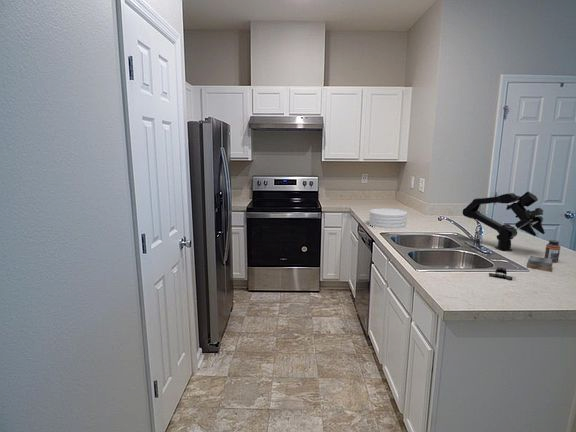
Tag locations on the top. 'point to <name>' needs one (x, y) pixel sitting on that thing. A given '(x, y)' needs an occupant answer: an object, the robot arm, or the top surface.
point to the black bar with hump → (500, 270)
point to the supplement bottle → (552, 250)
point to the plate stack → (388, 218)
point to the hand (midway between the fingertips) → (539, 234)
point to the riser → (540, 263)
